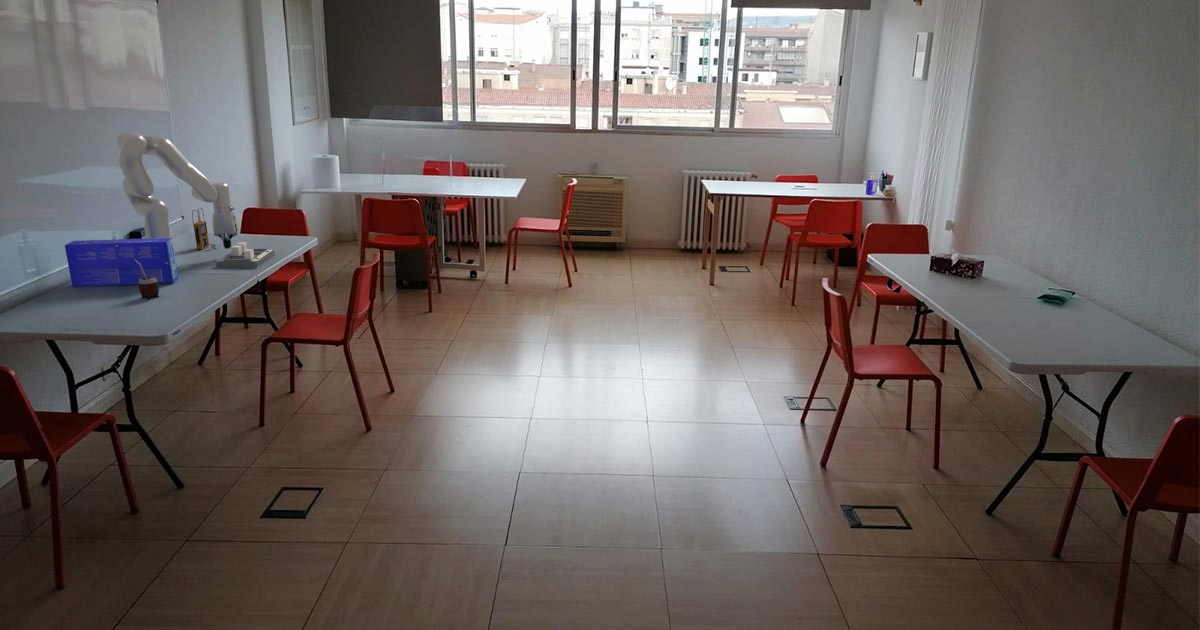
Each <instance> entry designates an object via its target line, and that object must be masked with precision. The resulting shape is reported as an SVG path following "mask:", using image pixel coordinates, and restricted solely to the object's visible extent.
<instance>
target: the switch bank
mask: <svg viewBox="0 0 1200 630" xmlns="http://www.w3.org/2000/svg"><path fill="white" fill-rule="evenodd" d="M252 249H253V250H254V258H253V259H244V252H242V254H241V255H232V251H230V252H229V253H228V254H225V255H224V256H223V257H221V258H220V259H218V260H216V261H215V264H216V268H217V267H218V268H219V269H258V268H260V267H261V266H262V265H264V264H265V263H267V262H268V261H269V260H271V259H272V258H273V256H274V257H275V255H276V254H275V253H276V252H275V249H271V248H270V249H268V248H252ZM270 258H271V259H270ZM267 260H268V261H267ZM266 261H267V262H266ZM264 262H265V263H264ZM263 263H264V264H263ZM261 264H262V265H261ZM260 265H261V266H260ZM259 266H260V267H259ZM257 267H258V268H257ZM218 268H217V269H218Z"/></svg>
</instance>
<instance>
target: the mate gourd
mask: <svg viewBox="0 0 1200 630" xmlns="http://www.w3.org/2000/svg"><path fill="white" fill-rule="evenodd" d="M135 261H136V262H137V263H138V264H139V266H140V268H141V270H142V272H143V275H144V277H143V278H140V280H139V282H138V285H137V287H138V289H139V293H140V295H141V299H147V301H149V300H152V298H153V299H154V298H155V299H156V298H157V299H158V298H159V297H160V296H159V293H160V292H159V291H160V287H159V286H160V284H158V281H157V279H156V278H155V277H146V275H145V273H144V271H143V268H142V265H141V264H140V263H139V262H138V261H137V260H136V259H135Z"/></svg>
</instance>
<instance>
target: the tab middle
mask: <svg viewBox="0 0 1200 630" xmlns="http://www.w3.org/2000/svg"><path fill="white" fill-rule="evenodd" d="M230 249H231V252H232V255H241V254H242V248H241V245H237V244H236V245H232V246H231V247H230Z"/></svg>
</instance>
